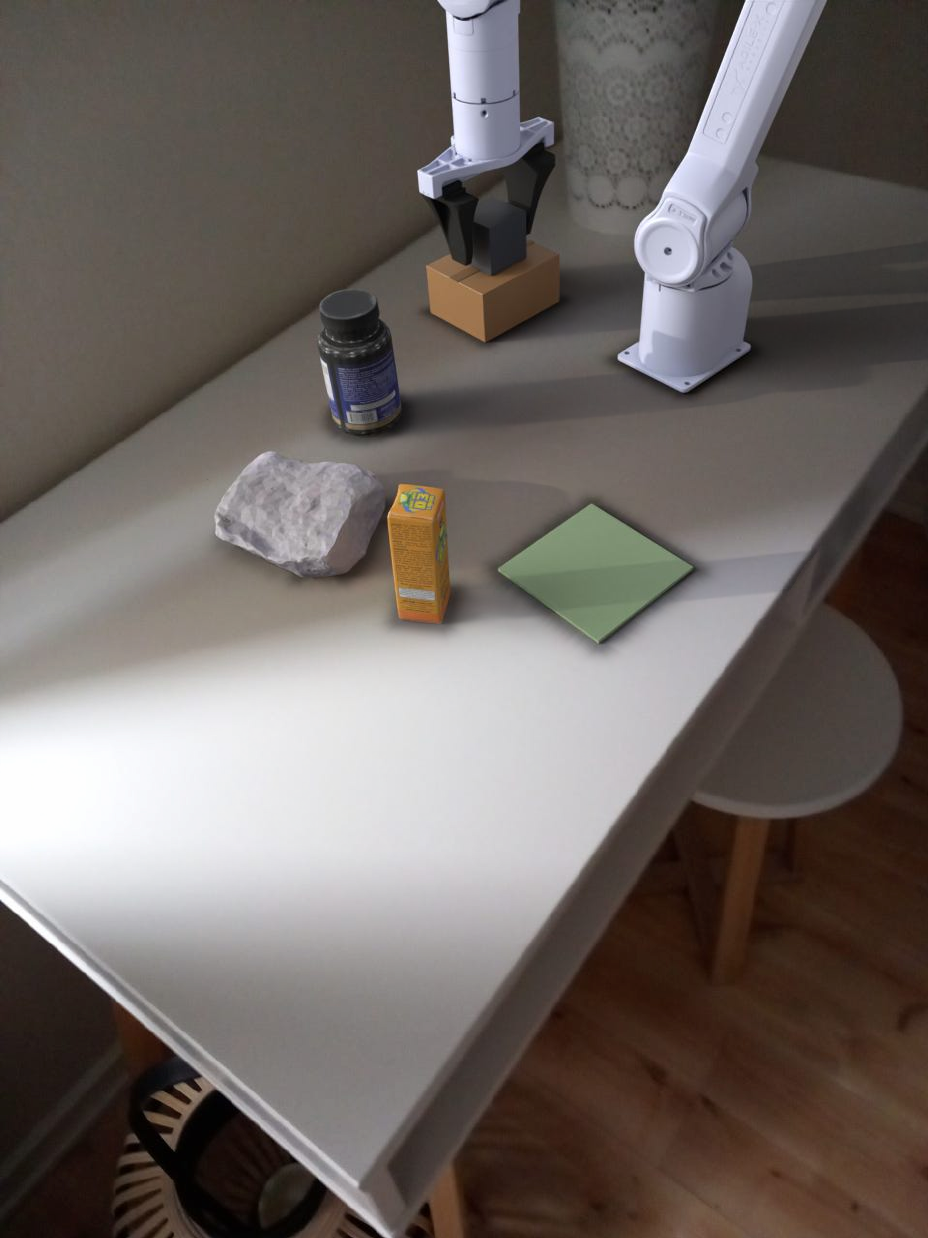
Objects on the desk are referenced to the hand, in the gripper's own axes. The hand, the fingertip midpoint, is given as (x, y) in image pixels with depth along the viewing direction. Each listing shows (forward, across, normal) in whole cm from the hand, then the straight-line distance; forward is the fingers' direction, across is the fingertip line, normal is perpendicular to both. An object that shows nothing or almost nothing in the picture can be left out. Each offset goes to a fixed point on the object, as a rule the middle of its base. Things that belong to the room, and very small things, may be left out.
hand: (491, 245), depth 91 cm
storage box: (+6, 0, 0) cm, 6 cm away
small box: (+1, 0, 0) cm, 1 cm away
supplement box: (+6, +31, +26) cm, 41 cm away
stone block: (+6, +33, +13) cm, 36 cm away
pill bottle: (+6, +20, +5) cm, 22 cm away
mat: (+6, +20, +32) cm, 38 cm away
